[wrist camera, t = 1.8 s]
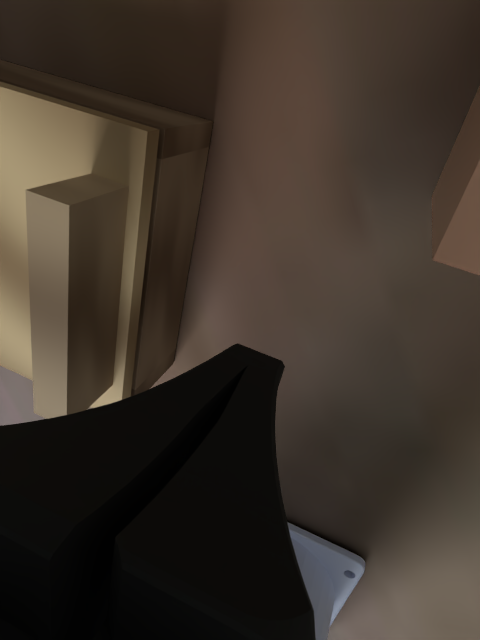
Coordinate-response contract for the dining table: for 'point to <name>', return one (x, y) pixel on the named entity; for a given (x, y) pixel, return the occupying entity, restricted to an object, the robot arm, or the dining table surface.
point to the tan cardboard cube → (459, 199)
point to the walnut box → (166, 209)
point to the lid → (71, 247)
